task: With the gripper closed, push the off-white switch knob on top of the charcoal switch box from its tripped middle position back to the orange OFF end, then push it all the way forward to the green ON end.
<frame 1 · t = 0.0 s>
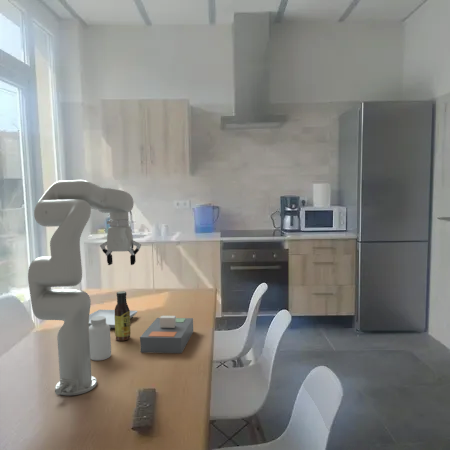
hand: (121, 264, 179), 31 cm above the table, tool pointing down, fingers open, 9 cm apart
salad plate: (108, 323, 203), on the table
sauce bottle: (123, 339, 180), on the table
pill bottle: (100, 357, 162), on the table
switch box: (168, 341, 176), on the table
switch knob: (167, 321, 175), point 8 cm above the table, slide at 0.0 cm
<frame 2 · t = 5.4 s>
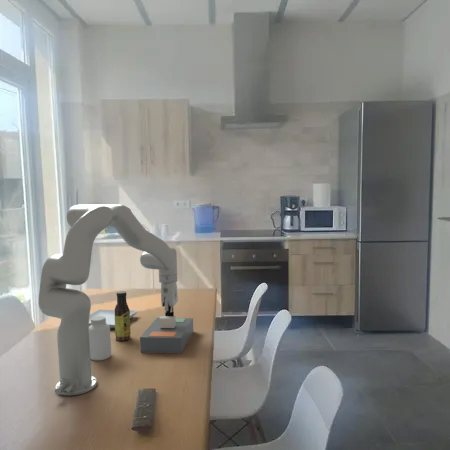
hand: (169, 321, 178), 7 cm above the table, tool pointing down, fingers closed
switch knob: (167, 322, 175), point 8 cm above the table, slide at -0.6 cm, touching gripper
everything else where it was.
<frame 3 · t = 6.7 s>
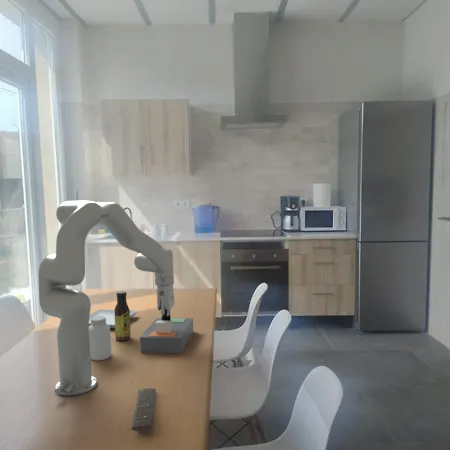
hand: (166, 325, 173), 8 cm above the table, tool pointing down, fingers closed
switch knob: (164, 326, 169), point 8 cm above the table, slide at -6.2 cm, touching gripper
everything else where it was.
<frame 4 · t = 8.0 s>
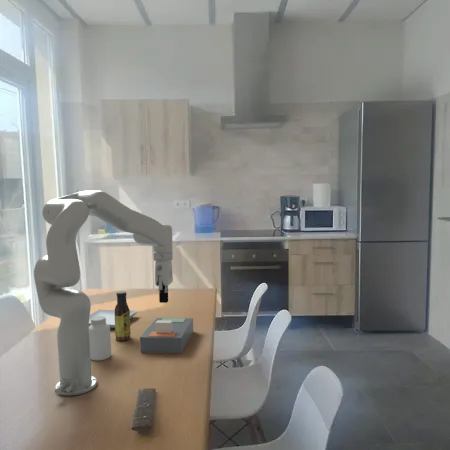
hand: (163, 302, 170), 18 cm above the table, tool pointing down, fingers closed
switch knob: (164, 326, 169), point 8 cm above the table, slide at -6.1 cm
everything else where it was.
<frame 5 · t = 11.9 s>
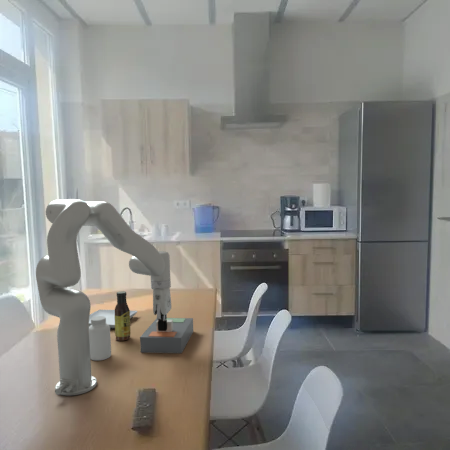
hand: (162, 330, 167), 8 cm above the table, tool pointing down, fingers closed
switch knob: (164, 325, 170), point 8 cm above the table, slide at -5.0 cm, touching gripper
everything else where it was.
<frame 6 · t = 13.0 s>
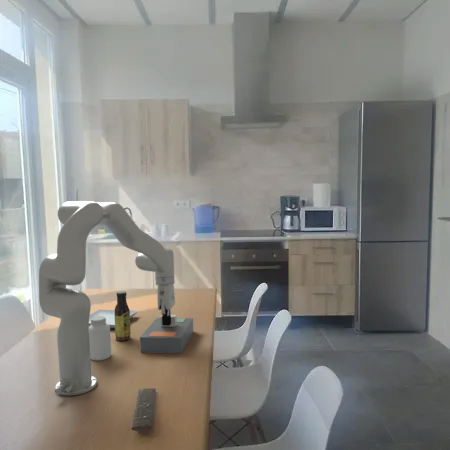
hand: (166, 324, 173), 8 cm above the table, tool pointing down, fingers closed
switch knob: (168, 320, 177), point 8 cm above the table, slide at 1.4 cm, touching gripper
everything else where it was.
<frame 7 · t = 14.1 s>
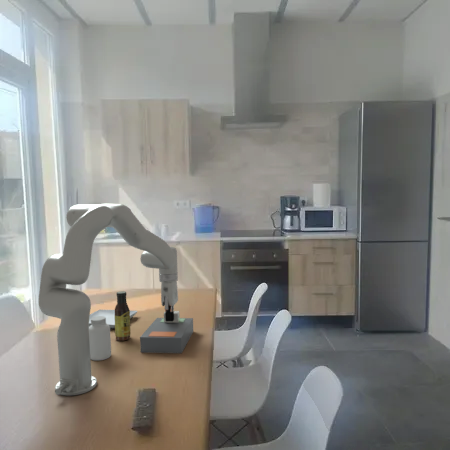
hand: (169, 320, 178), 8 cm above the table, tool pointing down, fingers closed
switch knob: (171, 316, 182), point 8 cm above the table, slide at 6.5 cm, touching gripper
everything else where it was.
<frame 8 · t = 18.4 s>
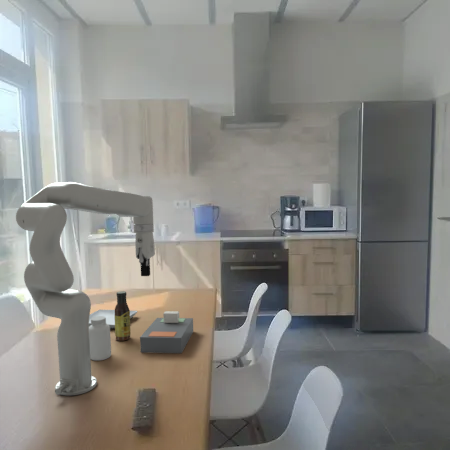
hand: (145, 275, 166), 29 cm above the table, tool pointing down, fingers closed
switch knob: (171, 317, 181), point 8 cm above the table, slide at 6.1 cm
everything else where it was.
at the end: switch knob slide at 6.1 cm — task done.
